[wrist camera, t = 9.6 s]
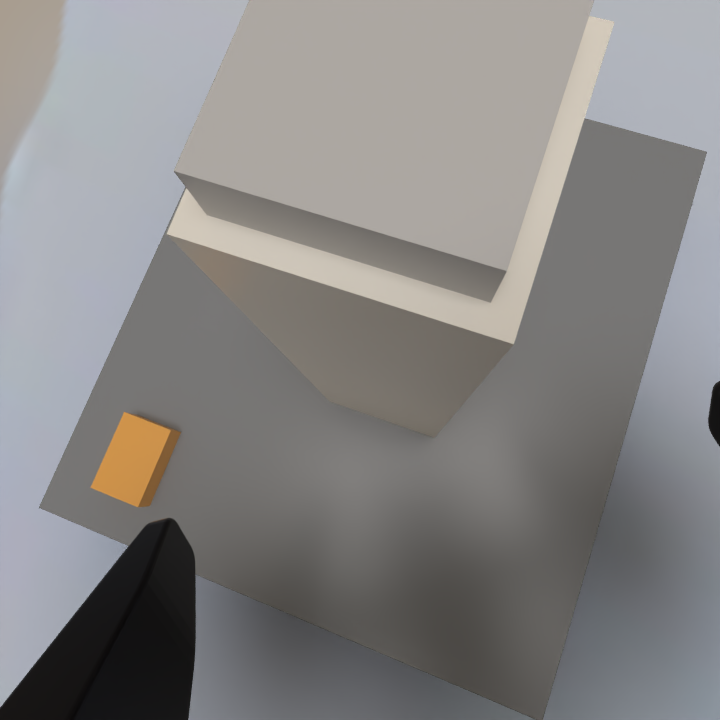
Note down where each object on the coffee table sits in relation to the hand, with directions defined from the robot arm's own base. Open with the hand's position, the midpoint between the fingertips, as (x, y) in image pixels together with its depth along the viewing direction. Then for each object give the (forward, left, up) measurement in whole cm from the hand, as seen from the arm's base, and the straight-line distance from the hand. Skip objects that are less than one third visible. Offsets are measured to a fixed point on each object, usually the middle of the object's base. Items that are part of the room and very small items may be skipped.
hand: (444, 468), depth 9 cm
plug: (+3, +2, -8) cm, 9 cm away
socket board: (+4, +3, -11) cm, 12 cm away
